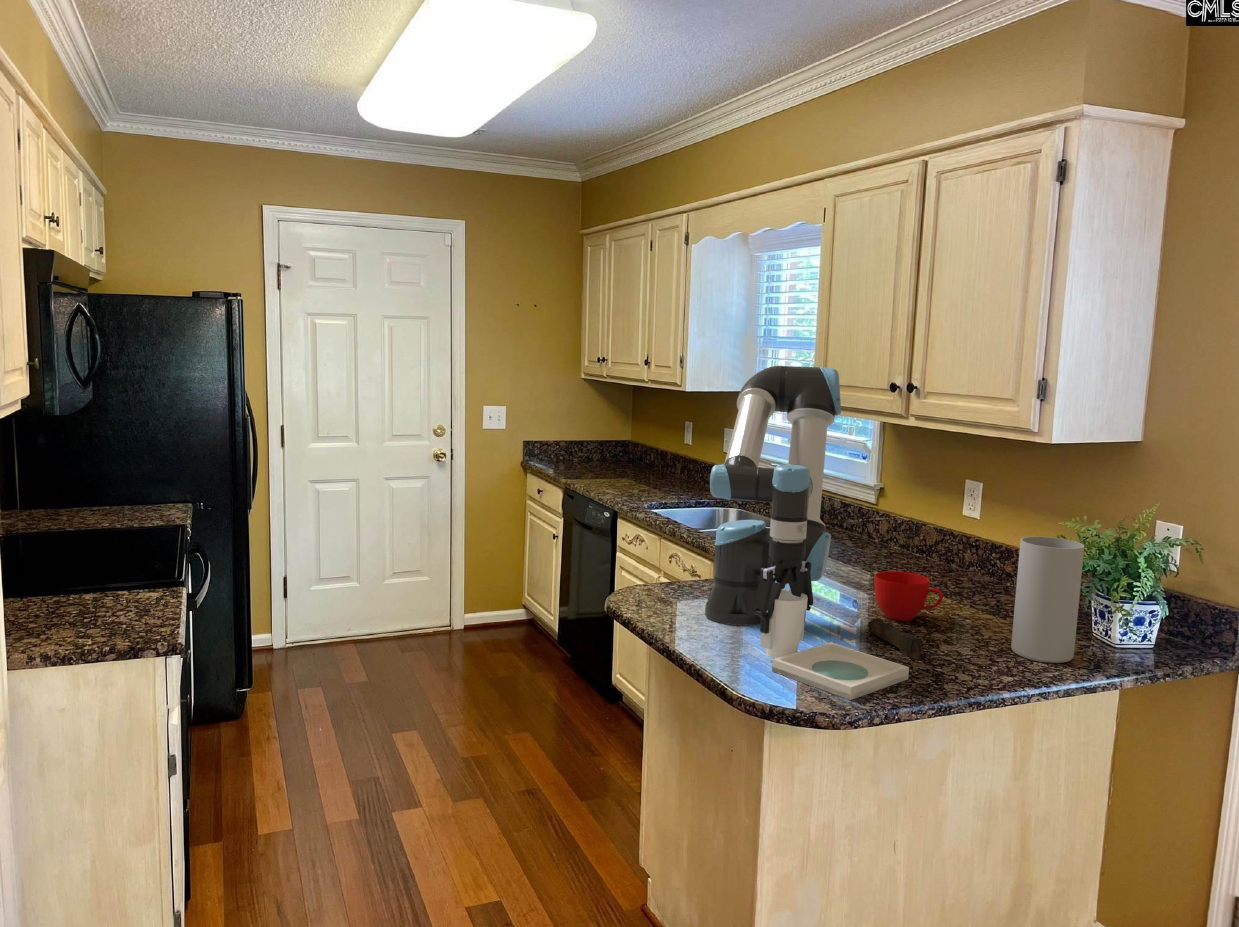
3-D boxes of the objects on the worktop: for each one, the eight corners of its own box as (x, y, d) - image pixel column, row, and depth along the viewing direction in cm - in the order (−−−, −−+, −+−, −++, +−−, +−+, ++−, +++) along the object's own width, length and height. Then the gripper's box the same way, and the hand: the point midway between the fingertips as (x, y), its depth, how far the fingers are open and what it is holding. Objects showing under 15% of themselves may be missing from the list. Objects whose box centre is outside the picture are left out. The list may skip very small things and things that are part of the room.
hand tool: (866, 634, 216) (867, 615, 215) (882, 634, 216) (883, 614, 216) (907, 662, 197) (908, 641, 197) (924, 661, 198) (926, 640, 197)
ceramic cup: (928, 632, 218) (931, 590, 217) (862, 616, 230) (865, 576, 228) (951, 621, 228) (954, 581, 227) (887, 606, 239) (889, 568, 238)
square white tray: (771, 671, 188) (772, 659, 188) (830, 653, 200) (830, 642, 200) (850, 700, 174) (851, 687, 174) (908, 679, 186) (908, 667, 186)
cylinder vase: (1012, 659, 201) (1022, 544, 198) (1009, 642, 212) (1019, 534, 209) (1076, 667, 197) (1087, 551, 193) (1070, 650, 208) (1080, 540, 205)
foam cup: (811, 660, 195) (815, 600, 194) (771, 663, 193) (774, 602, 191) (790, 646, 204) (794, 588, 203) (752, 648, 202) (755, 590, 200)
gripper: (766, 548, 185) (760, 657, 188) (835, 536, 200) (828, 638, 202) (738, 541, 191) (733, 648, 194) (807, 530, 205) (801, 629, 208)
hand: (782, 643), depth 198 cm, fingers closed on foam cup, 9 cm apart
